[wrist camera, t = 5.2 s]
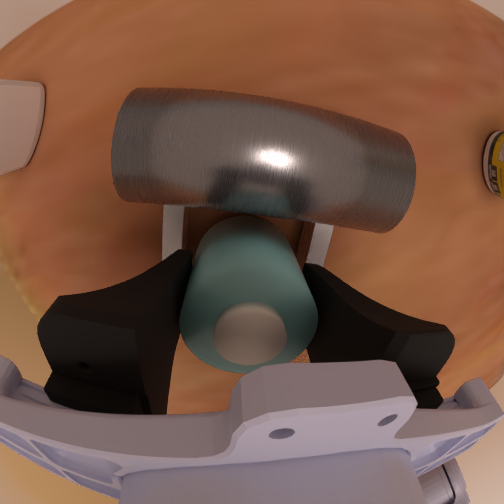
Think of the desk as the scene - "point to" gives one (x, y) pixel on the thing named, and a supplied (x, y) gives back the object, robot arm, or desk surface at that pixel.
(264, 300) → the teal cylinder
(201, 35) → the desk surface
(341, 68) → the desk surface
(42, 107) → the eye dropper bottle
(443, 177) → the desk surface
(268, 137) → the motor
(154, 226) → the desk surface
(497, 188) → the supplement bottle
